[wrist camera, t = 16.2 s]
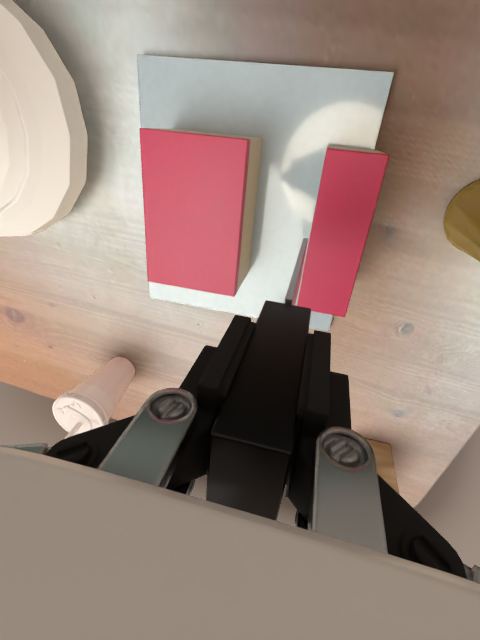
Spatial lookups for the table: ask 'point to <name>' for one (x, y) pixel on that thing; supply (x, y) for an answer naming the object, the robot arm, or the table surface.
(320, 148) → the cake plate
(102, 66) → the table surface
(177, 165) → the cake
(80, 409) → the smoothie
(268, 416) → the knife
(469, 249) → the vase
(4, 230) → the candle holder
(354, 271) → the cake slice
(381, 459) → the knife block
